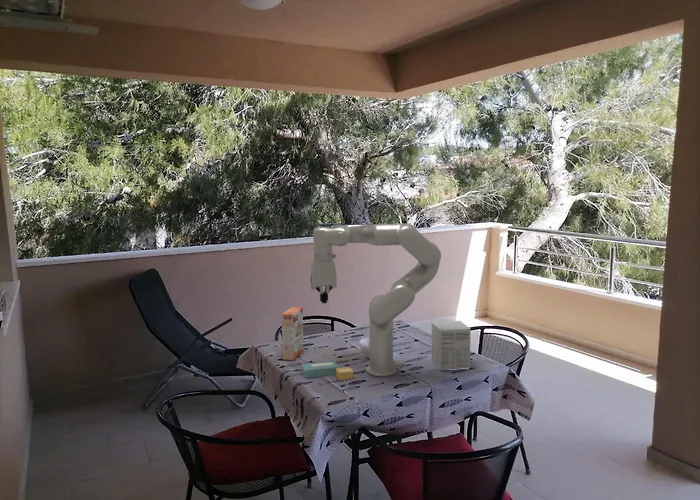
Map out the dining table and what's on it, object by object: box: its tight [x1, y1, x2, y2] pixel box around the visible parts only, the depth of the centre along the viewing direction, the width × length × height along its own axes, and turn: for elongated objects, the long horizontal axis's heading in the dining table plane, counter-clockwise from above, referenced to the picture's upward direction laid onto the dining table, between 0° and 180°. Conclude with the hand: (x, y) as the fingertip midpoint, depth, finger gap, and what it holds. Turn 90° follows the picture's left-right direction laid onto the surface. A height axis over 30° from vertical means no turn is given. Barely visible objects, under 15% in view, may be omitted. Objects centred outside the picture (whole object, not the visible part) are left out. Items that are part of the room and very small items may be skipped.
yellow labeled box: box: [335, 366, 354, 381], centre depth 215 cm, size 6×5×3 cm
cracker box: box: [281, 306, 304, 361], centre depth 241 cm, size 14×6×21 cm, turn 168°
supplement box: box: [431, 320, 472, 371], centre depth 226 cm, size 13×13×18 cm
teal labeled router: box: [301, 360, 340, 379], centre depth 220 cm, size 14×8×3 cm, turn 104°
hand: (324, 302), depth 219 cm, fingers closed
